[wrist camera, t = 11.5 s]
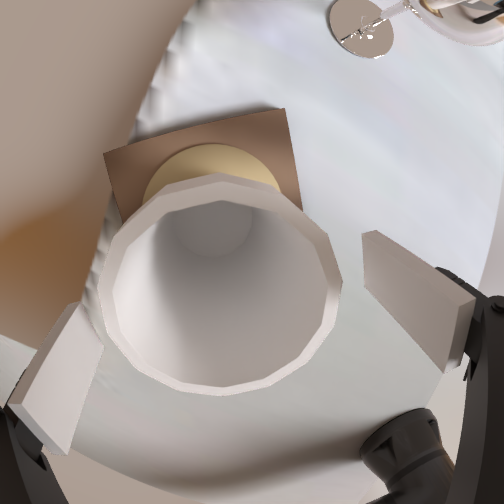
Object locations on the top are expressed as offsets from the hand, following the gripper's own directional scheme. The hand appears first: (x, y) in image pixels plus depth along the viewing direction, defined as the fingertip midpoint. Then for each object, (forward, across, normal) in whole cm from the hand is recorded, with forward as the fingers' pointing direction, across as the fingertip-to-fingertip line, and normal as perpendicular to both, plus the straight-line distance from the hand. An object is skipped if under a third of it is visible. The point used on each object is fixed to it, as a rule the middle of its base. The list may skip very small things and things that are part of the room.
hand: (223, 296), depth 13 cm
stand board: (+13, 0, -1) cm, 13 cm away
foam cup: (+11, 0, -1) cm, 11 cm away
